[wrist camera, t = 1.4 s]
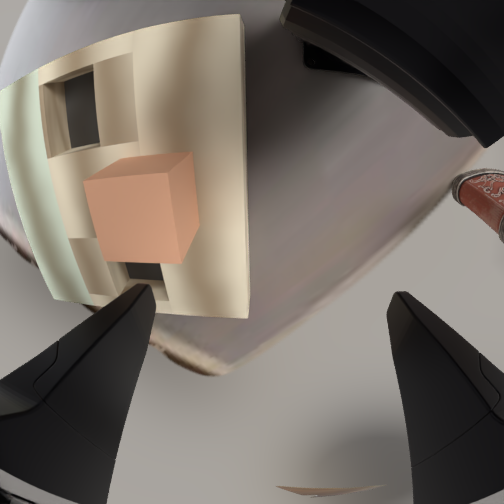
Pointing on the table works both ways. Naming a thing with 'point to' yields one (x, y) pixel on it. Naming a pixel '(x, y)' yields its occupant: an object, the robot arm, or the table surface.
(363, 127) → the table surface
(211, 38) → the cream flat piece
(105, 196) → the block
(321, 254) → the table surface
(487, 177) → the lighter
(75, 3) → the table surface
